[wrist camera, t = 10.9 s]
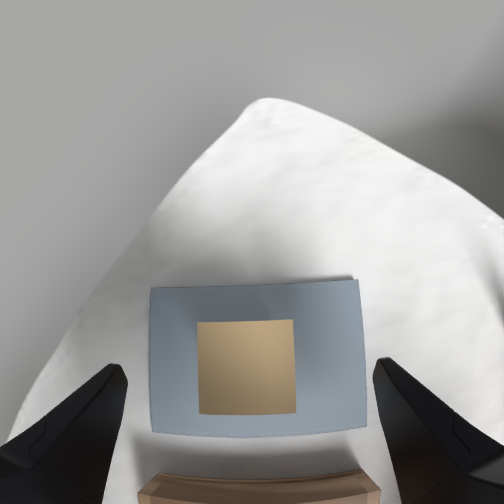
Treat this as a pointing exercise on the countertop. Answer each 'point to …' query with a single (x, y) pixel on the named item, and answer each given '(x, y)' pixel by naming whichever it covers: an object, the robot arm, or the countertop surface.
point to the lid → (257, 360)
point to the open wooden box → (262, 490)
